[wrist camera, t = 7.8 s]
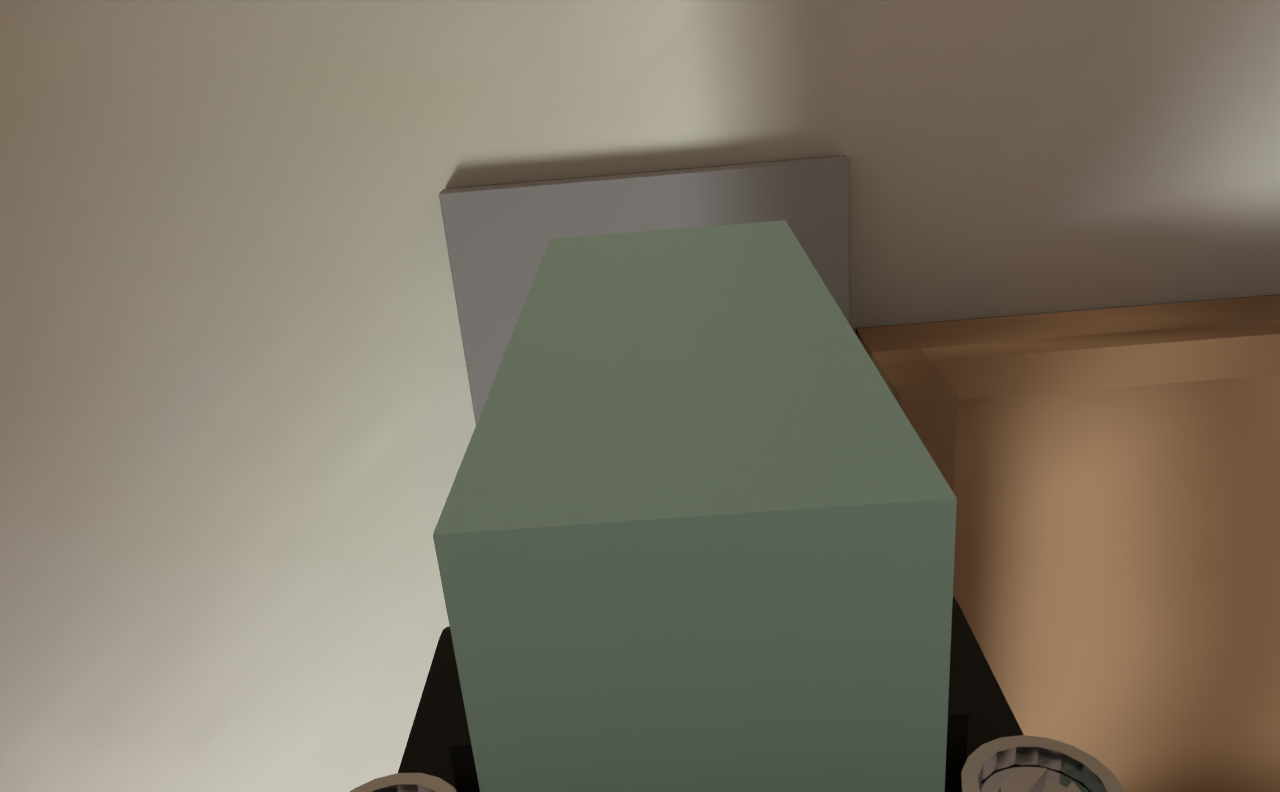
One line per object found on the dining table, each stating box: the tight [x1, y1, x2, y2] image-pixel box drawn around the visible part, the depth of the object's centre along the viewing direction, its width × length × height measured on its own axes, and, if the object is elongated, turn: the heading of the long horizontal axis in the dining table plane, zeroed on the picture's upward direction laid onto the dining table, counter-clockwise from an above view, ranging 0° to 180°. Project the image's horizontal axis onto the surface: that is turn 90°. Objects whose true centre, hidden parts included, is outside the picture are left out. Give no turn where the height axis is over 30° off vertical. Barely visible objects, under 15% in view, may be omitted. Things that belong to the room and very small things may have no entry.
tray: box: [856, 295, 1280, 792], centre depth 19 cm, size 12×18×3 cm, turn 5°
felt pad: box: [439, 156, 850, 425], centre depth 18 cm, size 7×9×1 cm
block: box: [433, 220, 957, 792], centre depth 11 cm, size 9×3×8 cm, turn 5°
